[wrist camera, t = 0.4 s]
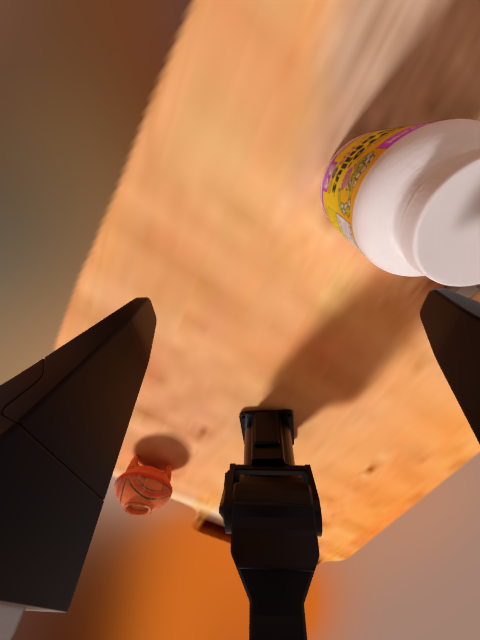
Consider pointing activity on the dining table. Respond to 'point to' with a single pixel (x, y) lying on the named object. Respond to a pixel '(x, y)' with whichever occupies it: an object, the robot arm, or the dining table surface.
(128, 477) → the pot
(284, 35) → the dining table surface
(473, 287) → the post base
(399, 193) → the supplement bottle
